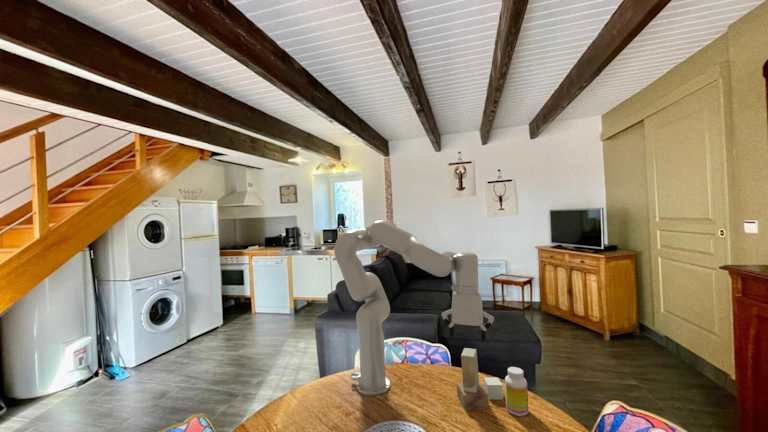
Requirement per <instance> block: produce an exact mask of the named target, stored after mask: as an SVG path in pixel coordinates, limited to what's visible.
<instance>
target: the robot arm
mask: <svg viewBox="0 0 768 432" xmlns="http://www.w3.org/2000/svg"><path fill="white" fill-rule="evenodd" d="M334 243H335V244H334V247H333V254H334V257H335V260H336V263H337V264H338V266H339V268H340V271H341V274H342V278H343V280H344V283H345V284H346V285H345V286H346V288H347V290H348V293H349V295H350V297H351V299H352V300H353V301H356V302H363V301H364V302H365V303H364V304H362V305H361V306H360V308H359V309H358V310H357V312H356V316H355V322H356V327H357V333H358V347H359V348H358V349H359V350H358V351H359V372H357V371H352V372H351V374H350V377H351V380H352V381H357V382H356V390H357V391H358V392H359V393H360V394H362V395H365V396H372V397H373V396H379V395H382V394H384V393H386V392H387V391H388V390H389V389H390V388H391V387H390V386H391V382H390V380H389V379H388V378H387V376H386V359H385V358H386V357H385V353H386V352H385V335H384V331H383V328H382V327H383V326H382V324H383V322H384V321H386V319H387V318H388V317H389V315H390V313H391V306H390V301H389V299H388V296H387V294H386V292H385V289H384V287H383V285H382V282H381V281H380V279H379V277H378V276H377V275H376V273H375V274H374V273H373V272H367V271H366V270H365V268H364V266H363V263H362V261H361V260H360V258H359V257H358V255H357V253H358V252H360V251H364V250H367V249H370V248H373V247H376V246H379V245H382V246H383V247H385V248H387V249H389V250H391V251H393V252H395V253H397V254H398V255H401V256H402V257H404V258H405V259H406V260H407V261H409V262H410V263H411V264H413V265H414V266H416V267H418V268H419V269H421V270H423V271H425V272H427V273H429V274H430V275H431V274H432V276H435V277H439V278H440V277H447V276H448V275H449V274H450V273H453V272H455V273H454V274H455V278H454V279H455V282H454V284H453V285H452V284H451V285H450V289H451V290H453V291H454V292H453V294H452V300H451V308H449V309H447V310H445V311H443V312H441V317H442V319H443V321H444V323H445V324H446V325H447V326H448V327H449V337H451V340H452V341H453V340H455V336H456V335H455V334H456V333H455V330H456V327H455V324H456V325H462V326H463V325H465V326H473V327H474V326H476V327H480V342H481V344H484V342H485V341H484V340H486V336H487V335H486V334H487V333H486V331H487V330H488V329H489V328H490V327H491V326H492V324H493V323H494V321H495V317H494V316H493V315H491V314H489V313H487V312H486V311H484V309H483V301H482V296H481V293H479V258H478V255H477V254H476V253H473V252H453V251H446V250H444V251H440V252H439V251H435V250H433V249H432V248H429V247H427V246H426V245H425V244H423V243H421V242H420V241H419V240H418V239H417V237H416V236H415V235H414V234H413V233H410V232H408V231H406V230H404V229H402V228H401V227H398V226H397V224H395V223H394V222H393V221H391V220H390V219H380V220H376V221H374V222H373V223H372V224H371V225H370V226H366V227H363V228H359V229H350V230H349V229H348V230H347V231H344V232H343V233H341V234H339V236H338V237H337V239H336V241H335V242H334ZM448 315H451V320H450V318H449V317H448ZM484 318H486V319H487V322H486V323H485V322H484Z"/></svg>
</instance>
